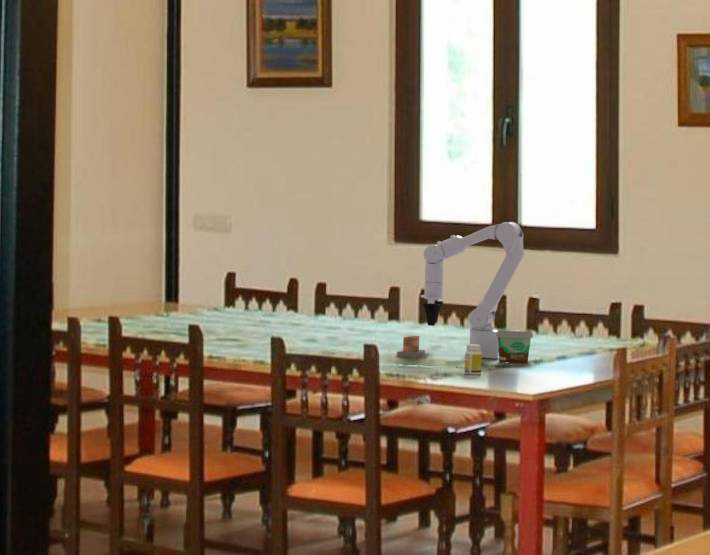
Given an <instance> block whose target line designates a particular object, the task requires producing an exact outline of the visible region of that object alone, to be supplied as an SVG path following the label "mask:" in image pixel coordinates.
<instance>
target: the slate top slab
mask: <svg viewBox="0 0 710 555" xmlns="http://www.w3.org/2000/svg"><path fill="white" fill-rule="evenodd" d="M396 354H397V356H399V357H398V358H404V357H418V358H417V359H424V358H423V357H424V355H426V350H425V349H419V351H418V352H407V351H403V348H399V349H398V350H397V351H396Z"/></svg>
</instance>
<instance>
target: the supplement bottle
mask: <svg viewBox="0 0 710 555" xmlns="http://www.w3.org/2000/svg"><path fill="white" fill-rule="evenodd" d="M480 349H481V345H478V344H470V343H468V344H466V351H465V353H464V374H465V375H471V376H475V375H481V374H482V361H483V358H482V353H481V352H480Z"/></svg>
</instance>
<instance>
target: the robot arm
mask: <svg viewBox="0 0 710 555" xmlns="http://www.w3.org/2000/svg"><path fill="white" fill-rule="evenodd" d="M449 237H450V238H447V239H445V240H442V241H440V240H438V241H436V244H430V245H428V246H427V247H426V248H424V251H423V257H424V259H425V268H424V294H422V295H420V298H422V299H423V298H424V299H426V300H427V301H425V302H423V303H422V306H423V308H424V312H425V317H426V323H427V325H428V326H431V327H432V326H435V325H436V324H437V323H438V320H439V315H440V310H441V307H442V306H443V305H444V301H443V297H444V296H443V285H444V284H443V280H444V261H445V259H446V260H447V259H450V258H452V257H455V256H457V255H458V256H459V254H463V253H464V252H466V249H467V247H469V246H472V245H475V244H477V243H481V242H483V241H485V240H489V239H490V240H498V241H499V242H500V244H501V245H502V246H503V249H504V252H505V254H506V255H505V257H504V259H503V261H502V262H501V264H500V266H499V268H498V270H497V272H496V274H495V275H494V278H493V280H492V281H491V283H490V286H488V289H487V291H486V293H485V294H484V296H483V298H482V300H480V302H479V303H478V305H477V307H476V308H475V309H473V310H472V311H471V312H470V313H469V316H468V322H469V324H470V325H471V326H470V328H469V344H478V345H481V349H480V352H481V353H482V359H499V349H498V337H497V336H496V334H497V332H498V330H499V329H494V327H493V323H494V321H495V319H496V317H495V316H496V312H497V310H498V305H499V303H500V301H501V298H502V297H503V295H504V293H505V292H506V289H507V287H508V286H509V285H510V284H509V283H511V280H512V278H513V277H514V274H515V272H516V271H517V269H518V267H519V265H520V264H521V261H522V259H523V258H524V255H525V254H524V253H525V252H524V251H525V249H524V233H523V231H522V229H521V226H520V225H519V224H518V223H517V222H514V221H508V222H501V223H499V224H494V225H490V226H486V227H484V228H483V229H480V230H478V231H475V232H473V233H471V234H469V235H465V236H464V237H463V236H461V235H455V234H452V235H450V236H449Z"/></svg>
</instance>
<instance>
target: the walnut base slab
mask: <svg viewBox="0 0 710 555" xmlns="http://www.w3.org/2000/svg"><path fill="white" fill-rule="evenodd" d="M428 356H429V354H425V355H424V357H423V358H422V359H426V358H427V357H428ZM393 358H400V357H399V356H397V353H395V355H393ZM403 358H408V359H409V358H410V359H419V358H418V357H403Z"/></svg>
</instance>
